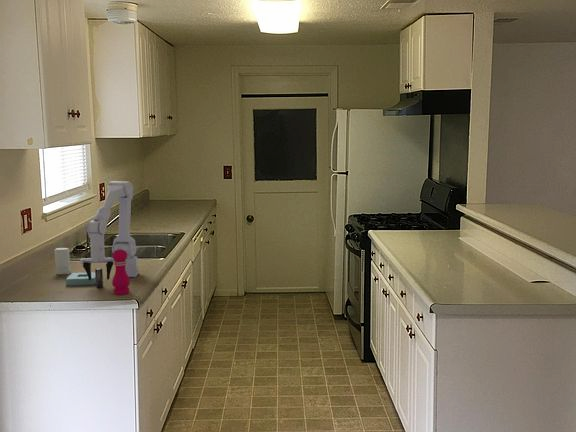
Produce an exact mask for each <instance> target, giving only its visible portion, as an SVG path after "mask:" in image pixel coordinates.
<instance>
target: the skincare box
mask: <svg viewBox="0 0 576 432" xmlns="http://www.w3.org/2000/svg"><path fill="white" fill-rule="evenodd" d="M53 253H54V262H55V263H54V264H55V272H56V275H71V274H72V268H71V255H70V254H71V253H70V248H69V247H56V248H55V249H54V250H53Z"/></svg>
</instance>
